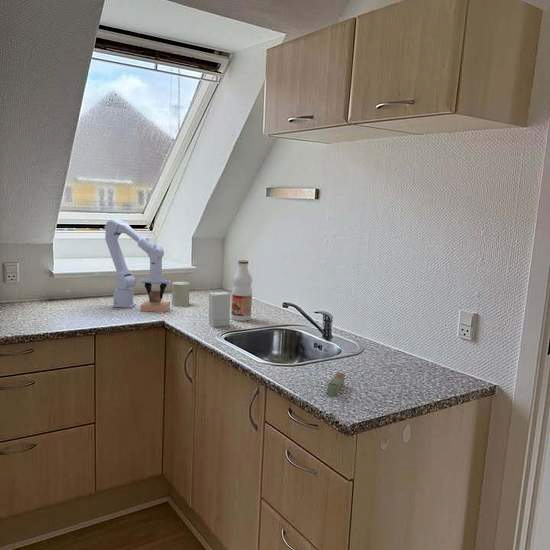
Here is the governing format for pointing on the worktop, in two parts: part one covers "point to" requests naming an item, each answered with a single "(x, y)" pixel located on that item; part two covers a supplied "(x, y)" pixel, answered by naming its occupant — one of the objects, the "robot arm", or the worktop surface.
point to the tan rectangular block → (155, 306)
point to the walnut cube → (154, 297)
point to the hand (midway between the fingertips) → (155, 298)
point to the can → (180, 293)
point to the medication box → (335, 384)
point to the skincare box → (219, 309)
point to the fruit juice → (241, 293)
